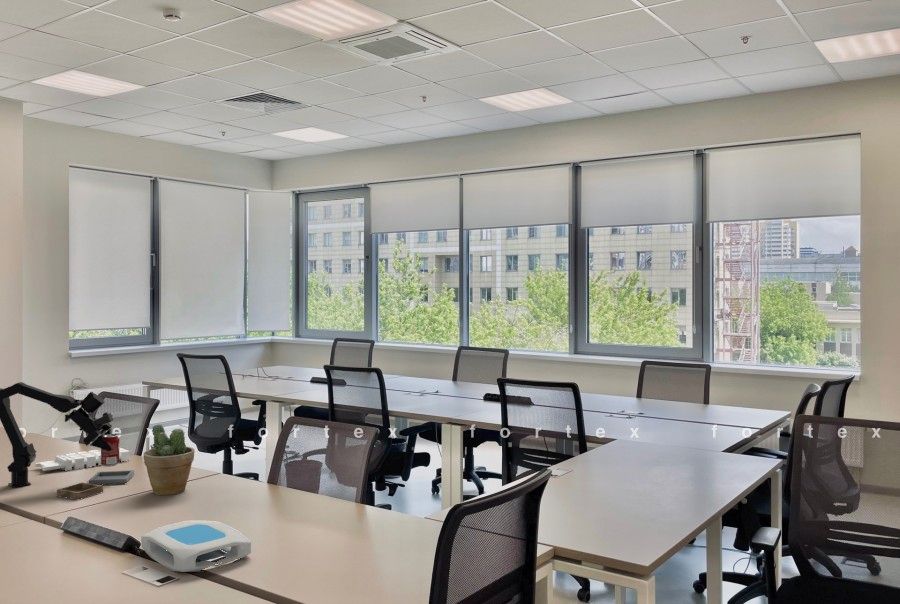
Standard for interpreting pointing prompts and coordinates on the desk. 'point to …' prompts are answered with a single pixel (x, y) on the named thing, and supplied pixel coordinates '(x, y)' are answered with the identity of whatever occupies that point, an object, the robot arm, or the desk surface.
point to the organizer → (79, 460)
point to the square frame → (88, 491)
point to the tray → (111, 477)
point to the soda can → (110, 456)
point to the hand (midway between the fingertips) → (113, 448)
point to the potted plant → (168, 462)
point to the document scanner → (194, 544)
